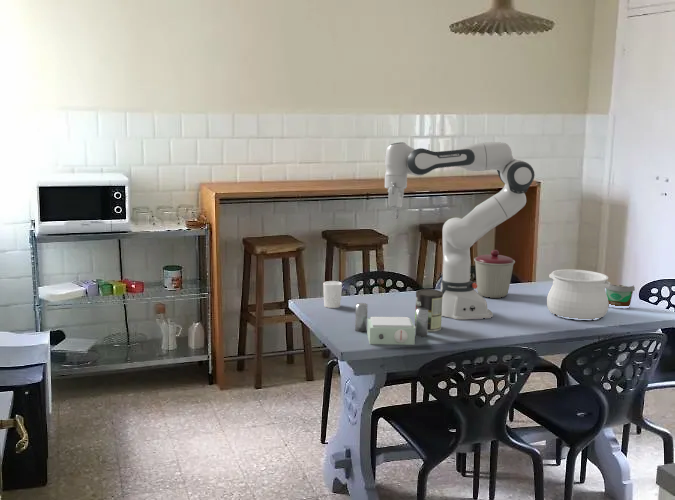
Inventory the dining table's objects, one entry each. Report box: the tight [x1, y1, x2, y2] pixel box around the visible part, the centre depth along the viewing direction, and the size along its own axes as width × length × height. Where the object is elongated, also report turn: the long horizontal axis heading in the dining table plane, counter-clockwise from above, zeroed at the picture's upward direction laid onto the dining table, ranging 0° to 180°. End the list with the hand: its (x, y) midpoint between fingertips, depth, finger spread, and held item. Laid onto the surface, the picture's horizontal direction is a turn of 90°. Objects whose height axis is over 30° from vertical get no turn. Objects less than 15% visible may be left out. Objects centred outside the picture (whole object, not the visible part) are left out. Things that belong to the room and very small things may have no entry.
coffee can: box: [414, 288, 443, 333], centre depth 298 cm, size 10×10×14 cm
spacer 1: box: [354, 302, 369, 333], centre depth 293 cm, size 4×4×10 cm
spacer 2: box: [415, 308, 428, 338], centre depth 288 cm, size 4×4×10 cm
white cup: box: [322, 280, 343, 309], centre depth 327 cm, size 8×8×10 cm
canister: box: [473, 249, 516, 299], centre depth 350 cm, size 18×18×21 cm
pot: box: [546, 269, 611, 319], centre depth 321 cm, size 26×24×17 cm
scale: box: [366, 316, 416, 346], centre depth 282 cm, size 16×14×7 cm
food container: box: [605, 284, 636, 306], centre depth 334 cm, size 12×6×10 cm, turn 68°
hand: (395, 218), depth 309 cm, fingers open, 8 cm apart
